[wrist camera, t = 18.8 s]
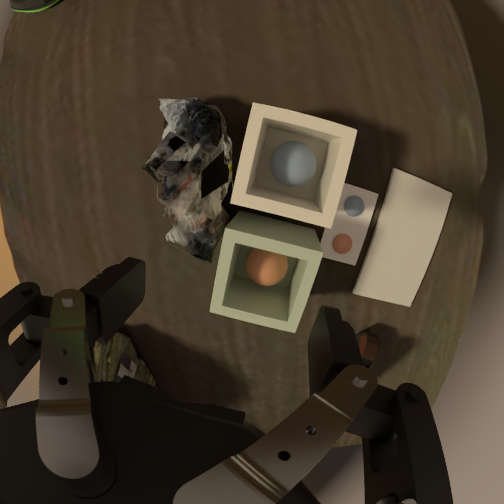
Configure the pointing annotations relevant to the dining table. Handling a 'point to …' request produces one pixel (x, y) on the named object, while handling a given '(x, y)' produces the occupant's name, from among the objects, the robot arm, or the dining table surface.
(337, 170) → the cream cup
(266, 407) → the dining table surface
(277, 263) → the terracotta ball
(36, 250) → the dining table surface
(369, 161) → the dining table surface
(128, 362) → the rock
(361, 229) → the card
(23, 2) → the running shoe
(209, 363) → the dining table surface
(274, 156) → the blue ball
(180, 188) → the foil
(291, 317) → the sage cup
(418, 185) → the felt mat
